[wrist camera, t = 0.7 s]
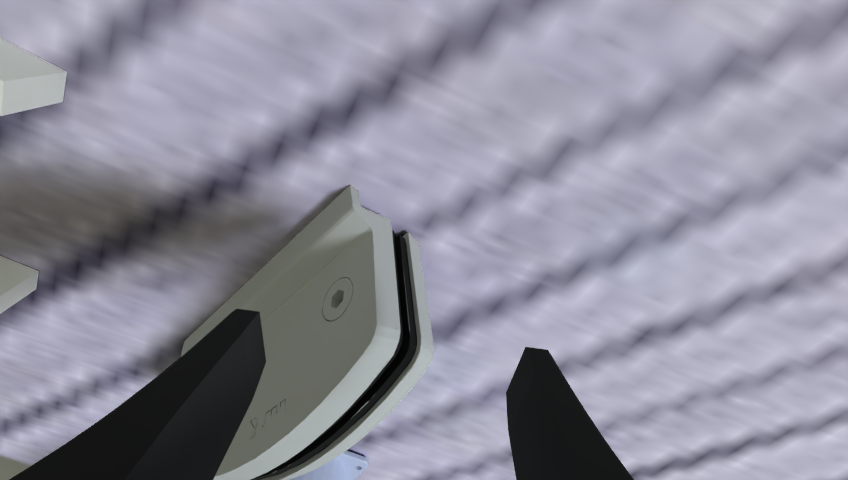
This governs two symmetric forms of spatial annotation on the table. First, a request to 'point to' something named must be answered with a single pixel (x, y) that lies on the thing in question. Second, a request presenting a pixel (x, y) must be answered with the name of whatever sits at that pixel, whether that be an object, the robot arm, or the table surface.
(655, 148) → the table surface
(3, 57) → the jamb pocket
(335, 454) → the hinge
